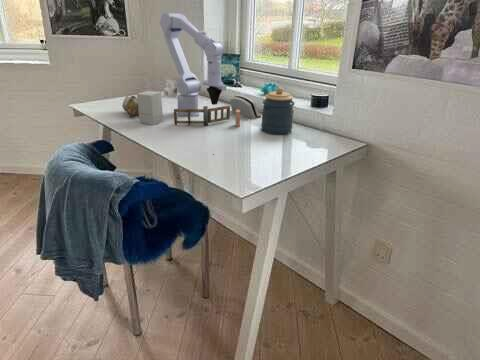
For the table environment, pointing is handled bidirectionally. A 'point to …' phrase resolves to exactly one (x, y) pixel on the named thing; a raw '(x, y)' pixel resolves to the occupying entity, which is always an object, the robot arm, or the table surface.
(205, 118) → the hinge post
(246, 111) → the grey arched piece
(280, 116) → the canister
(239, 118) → the post
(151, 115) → the supplement box
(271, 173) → the table surface
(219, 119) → the gate
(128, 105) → the ceramic sculpture
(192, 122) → the fence
